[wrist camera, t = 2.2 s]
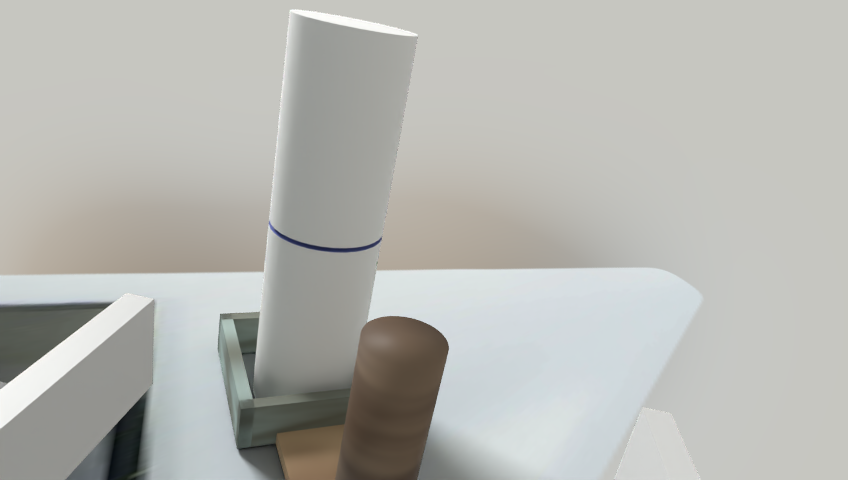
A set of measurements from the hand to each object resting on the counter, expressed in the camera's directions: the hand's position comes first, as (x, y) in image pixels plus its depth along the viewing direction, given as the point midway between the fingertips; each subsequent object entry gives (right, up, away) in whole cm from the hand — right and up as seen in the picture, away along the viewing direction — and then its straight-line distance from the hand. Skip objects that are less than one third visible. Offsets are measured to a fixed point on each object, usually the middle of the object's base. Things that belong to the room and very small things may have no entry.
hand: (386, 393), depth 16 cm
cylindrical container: (-8, -7, +27) cm, 29 cm away
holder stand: (-5, -8, +22) cm, 25 cm away
